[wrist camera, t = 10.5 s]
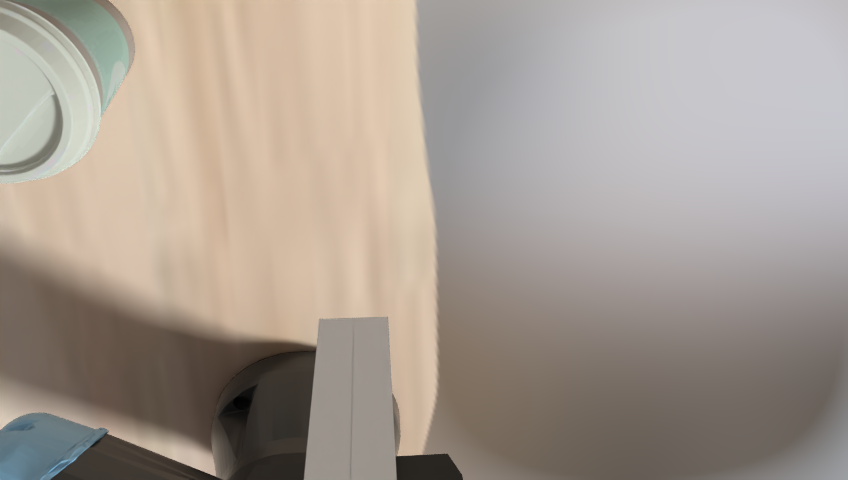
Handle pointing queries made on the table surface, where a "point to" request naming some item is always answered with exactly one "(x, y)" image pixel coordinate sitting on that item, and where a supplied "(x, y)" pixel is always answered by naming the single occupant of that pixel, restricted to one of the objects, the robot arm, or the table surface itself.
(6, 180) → the coffee cup
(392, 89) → the table surface
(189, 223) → the table surface
